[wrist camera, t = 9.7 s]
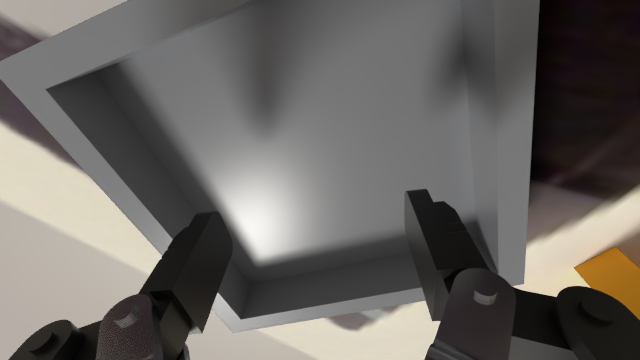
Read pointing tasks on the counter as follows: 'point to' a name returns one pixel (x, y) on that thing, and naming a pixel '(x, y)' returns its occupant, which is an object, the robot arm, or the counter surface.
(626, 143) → the counter surface
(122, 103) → the parts bin
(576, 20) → the counter surface
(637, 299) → the pipe clamp
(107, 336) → the robot arm
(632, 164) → the counter surface
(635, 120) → the counter surface
